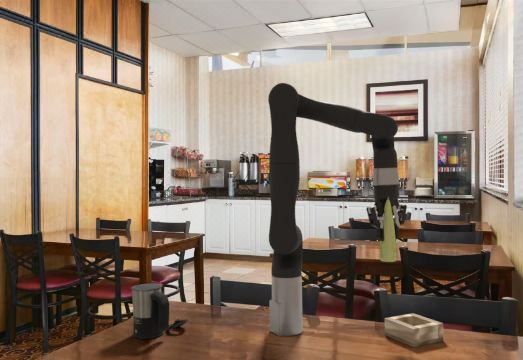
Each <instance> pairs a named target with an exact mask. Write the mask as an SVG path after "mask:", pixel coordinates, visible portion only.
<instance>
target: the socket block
mask: <svg viewBox="0 0 523 360" xmlns="http://www.w3.org/2000/svg"><path fill="white" fill-rule="evenodd" d="M384 336H386V337H388V338H391V339H393V340H396V341H397V342H400V343H402V344H406V345H407V346H410V347H412V348H417V347H422V346H426V345H431V344H436V343H438V342H444V323H443V322H441V321H439V320H438V321H437V320H435V319H431V318H427V317H425V316H422V315H420V314H416V313H408V314H401V315H396V316H395V315H394V316H391V317H390V316H389V317H385V318H384Z"/></svg>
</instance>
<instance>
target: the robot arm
mask: <svg viewBox="0 0 523 360" xmlns="http://www.w3.org/2000/svg"><path fill="white" fill-rule="evenodd" d="M267 99H268V104H269V114H270V125H271V135H270V136H271V137H270V144H269V162H268V163H269V165H268V166H269V171H268V172H269V174H268V175H269V196H270V220H269V233H268V243H269V246H270V248H271V249H272V250H273V257H272V264H271V269H270V271H271V273H270V274H271V299H270V300H269V301H268V302H269V307H268V308H269V331H270V332H271V333H273V334H275V335H277V336H278V337H280V336H282V337H283V336H284V337H285V336H288V337H289V336H290V337H291V336H296V335H300V334H302V333H303V327H304V326H303V280H302V279H303V277H302V270H303V259H304V258H303V257H304V256H303V254H304V252H303V251H304V248H303V243H304V240H303V233H302V231H301V229H300V227H299V226H298V225H297V221H296V205H297V199H298V198H297V197H298V194H299V193H298V192H299V187H300V177H301V176H300V175H301V173H300V172H301V171H300V170H301V169H300V168H301V167H300V151H299V144H298V137H297V118H302V119H306V120H311V121H315V122H319V123H322V124H325V125H328V126H332V127H335V128H338V129H340V130H344V131H348V132H352V133H357V134H358V133H359V134H364V135H365V134H366V135H369V136H370V137H371V138H370V140H371V144H372V151H373V153H372V154H373V155H372V156H373V157H372V158H373V161H372V162H373V163H372V165H373V173H372V185H373V187H372V188H373V200H374V205H372V206H366V208H365V209H366V213H367V217H368V222H369V225H370V227H374V228H375V230H376V231H375V232H376V240H377V241H379V242H380V241H384V229H383V226H384V221H385V211H384V206H385V203H386V201H387V199H388V197H389V201H390V204H391V209H392V215H393V221H394V229H395V239H396V240H398V239H399V237H400V226H401V225H404V224H405V220H406V214H407V208H408V206H407V204H401V203H400V202H399V199H400V176H399V169H398V154H397V151H396V149H395V136H396V134H397V133H398V129H399V125H398V122H397V120H395V119H394V118H393V117H391V116H389V115H385V114H382V113H377V112H372V111H371V112H370V111H365V110H361V109H359V108H355V107H352V106H349V105H344V104H341V103H335V102H334V103H333V102H327V101H326V102H325V101H320V100H316V99H313V98H309V97H307V96H305V95H303V94H301V93H299V92H298V91H297V89H296V87H295V86H293V85H292V84H291V83H288V82H279V83H277V84H276V85H274V86H273V87H272V88H271V90H270V91H269V92H268V97H267Z"/></svg>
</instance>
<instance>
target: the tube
mask: <svg viewBox="0 0 523 360" xmlns="http://www.w3.org/2000/svg"><path fill="white" fill-rule="evenodd" d="M384 211H385V221H384V226H383V229H384V241H379V260H380V261H381V262H384V263H393V262H397V260H398V258H397V255H398V254H397V243H396V242H397V241H396V240H397V239H395V229H394V221H393V215H392V209H391V204H390V201H389V197H388V199H387V201H386V203H385V206H384Z"/></svg>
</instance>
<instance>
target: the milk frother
mask: <svg viewBox="0 0 523 360" xmlns="http://www.w3.org/2000/svg"><path fill="white" fill-rule="evenodd" d="M162 287H163V285H162V284H160V283H142V284H137V285H133V286H131V290H132V291H131V292H132V293H131V295H132V314H133V317H132V318H133V319H132V320H133V328H132V329H133V333H132V337H133V338H135V339H140V340H145V339H154V338H158V337H161V336H163V334H164V332H166V331H170V330H172V329H174V328H177V329H179V328H182V326H183V325H186V323H188V322H189V319H182V318H181V319H179V318H177V319H174V321H173V322H172V323H171V324H170V301H169V298H168V296H167V294H165V293H164V292H162Z"/></svg>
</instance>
